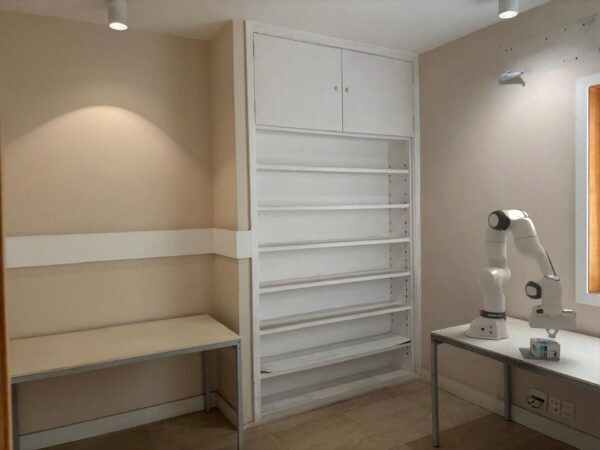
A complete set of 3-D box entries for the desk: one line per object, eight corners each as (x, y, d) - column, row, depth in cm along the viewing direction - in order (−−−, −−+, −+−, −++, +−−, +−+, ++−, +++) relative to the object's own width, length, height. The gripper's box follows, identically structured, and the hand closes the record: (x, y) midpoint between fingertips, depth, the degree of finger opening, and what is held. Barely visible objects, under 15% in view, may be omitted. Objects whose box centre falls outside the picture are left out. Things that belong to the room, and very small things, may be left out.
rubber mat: (523, 358, 224) (523, 357, 224) (518, 348, 239) (518, 347, 239) (556, 360, 220) (556, 359, 220) (549, 350, 235) (549, 349, 235)
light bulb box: (560, 344, 221) (536, 343, 223) (560, 358, 221) (536, 357, 223) (553, 338, 231) (529, 337, 233) (552, 351, 232) (529, 350, 234)
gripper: (574, 308, 226) (574, 337, 227) (528, 307, 232) (527, 334, 233) (578, 311, 220) (578, 341, 221) (530, 309, 226) (530, 338, 227)
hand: (551, 337), depth 227 cm, fingers closed
